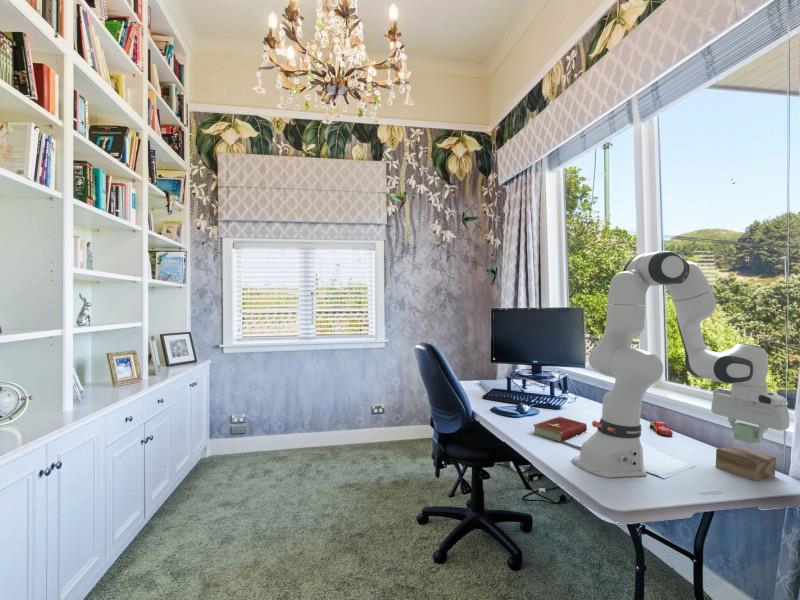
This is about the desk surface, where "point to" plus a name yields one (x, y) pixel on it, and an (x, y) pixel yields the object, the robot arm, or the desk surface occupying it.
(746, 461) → the block
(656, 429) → the race car
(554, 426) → the hardcover book
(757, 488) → the desk surface
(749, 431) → the cube
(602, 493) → the desk surface
